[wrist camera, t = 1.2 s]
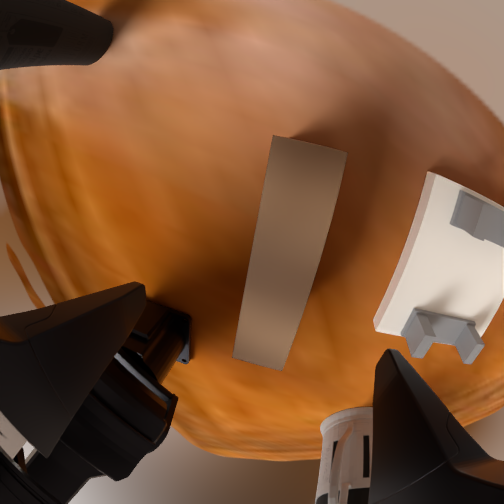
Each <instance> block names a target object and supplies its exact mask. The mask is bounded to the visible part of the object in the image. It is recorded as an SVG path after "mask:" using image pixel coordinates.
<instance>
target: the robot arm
mask: <svg viewBox="0 0 504 504" xmlns="http://www.w3.org/2000/svg"><path fill="white" fill-rule="evenodd" d="M185 319H186V320H187V321H186V320H185ZM190 346H191V317H190V316H189V315H187V314H184V313H181V312H178V311H175V310H172V309H170V308H167V307H164V306H161V305H158V304H156V303H153V302H150V301H147V300H146V290H145V286H144V284H141V283H139V282H131V283H127V284H124V285H120V286H117V287H113V288H110V289H106V290H103V291H99V292H96V293H92V294H89V295H85V296H82V297H78V298H75V299H71V300H68V301H64V302H61V303H58V304H57V305H56V304H54V305H50V306H47V307H43V308H39V309H36V310H31V311H27V312H22V313H17V314H12V315H7V316H2V317H0V504H68V503H69V502H70V501H71V499H72V498H73V497H74V496H75V495H76V494H77V493H78V492H79V490H80V489H81V488H82V487H83V486H84V485H85V484H86V482H87V481H88V480H89V479H91V478H95V477H101V476H108V477H110V478H111V479H113V480H114V481H119V480H122V479H124V478H127V477H128V476H129V475H130V474H131V472H132V471H133V469H134V468H135V467H136V465H137V464H138V463H139V461H140V460H141V459H142V458H143V457H144V456H145V455H146V454H148V453H150V452H152V451H154V450H155V449H156V448H157V447H159V445H160V444H161V443H162V442H163V440H164V439H165V438H166V436H167V434H168V431H169V429H170V425H171V422H172V418H173V415H174V412H175V408H176V405H177V401H178V397H177V396H176V395H175V394H172V393H171V392H169V391H168V390H167V389H166V388H165V387H163V386H162V385H161V384H162V382H163V381H164V379H165V378H166V376H167V374H168V373H169V371H170V370H171V368H172V366H173V365H174V363H175V362H176V361H178V362H181V363H183V364H188V363H189V361H190ZM26 441H28V442H29V443H30V444H31V445H32V446H33V447H34V449H33V451H32V452H31V453H30V455H29V456H28V457H27V458H26V459H25V458H24V452H23V448H22V446H23V445H24V444H25V442H26ZM368 504H504V461H501V460H497V459H494V458H492V457H491V456H489V455H488V454H487V453H486V452H485V451H484V450H483V449H482V448H481V446H480V445H479V444H478V443H477V442H476V441H475V440H474V439H473V438H472V437H471V436H470V435H469V434H468V433H467V432H466V430H465V429H464V428H463V427H462V426H461V425H460V423H459V422H458V421H457V420H456V419H455V417H454V416H453V415H452V414H451V412H449V410H448V409H447V407H446V406H445V405H444V404H443V403H442V401H441V400H440V399H439V398H438V397H437V395H436V394H435V393H434V392H433V391H432V389H431V388H430V387H429V386H428V385H427V383H426V382H425V381H424V380H423V379H422V378H421V376H420V375H419V374H418V373H417V372H416V371H415V369H414V368H413V367H412V366H411V365H410V364H409V363H408V361H407V360H406V359H405V358H404V357H403V356H402V355H401V353H400V352H399V351H398V350H395V349H386V350H385V352H384V354H383V355H382V357H381V358H380V360H379V362H378V363H377V365H376V369H375V382H374V395H373V442H372V465H371V480H370V491H369V500H368Z"/></svg>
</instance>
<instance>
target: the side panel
mask: <svg viewBox="0 0 504 504" xmlns="http://www.w3.org/2000/svg"><path fill="white" fill-rule="evenodd" d="M503 298H504V207H503V206H501V205H499V204H498V203H496V202H494V201H492V200H490V199H488V198H486V197H484V196H483V195H481V194H479V193H477V192H475V191H473V190H471V189H468V188H466V187H464V186H462V185H460V184H458V183H456V182H453V181H451V180H449V179H447V178H444V177H442V176H440V175H437V174H435V173H432V172H429V171H427V175H426V179H425V183H424V186H423V190H422V194H421V197H420V201H419V204H418V207H417V210H416V214H415V217H414V220H413V223H412V226H411V229H410V232H409V235H408V238H407V240H406V243H405V246H404V249H403V251H402V254H401V257H400V259H399V262H398V264H397V267H396V269H395V272H394V274H393V277H392V279H391V281H390V284H389V286H388V288H387V291H386V293H385V295H384V297H383V299H382V302H381V304H380V306H379V308H378V310H377V312H376V314H375V316H374V319H373V322H374V326H375V331H377V332H382V333H387V334H392V335H397V336H402V337H405V338H406V341H407V344H408V347H409V350H410V354H411V357H416V358H423V357H424V355H425V354H426V352H427V351H428V349H429V348H430V346H431V345H432V343H433V342H436V343H442V344H449V345H455V346H456V348H457V350H458V352H459V355H460V357H461V359H462V361H463V363H465V364H472V363H473V361H474V360H475V358H476V357H477V356H478V354H479V353H480V351H481V350H482V348H483V347H484V345H485V344H484V342H483V341H482V339H481V336H482V335H483V333H484V332H485V330H486V328H487V327H488V325H489V323H490V322H491V320H492V318H493V317H494V315H495V313H496V311H497V309H498V308H499V306H500V304H501V302H502V300H503Z"/></svg>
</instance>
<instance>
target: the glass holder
mask: <svg viewBox="0 0 504 504" xmlns="http://www.w3.org/2000/svg"><path fill="white" fill-rule="evenodd" d="M320 430H321V433H322V435H323V445H322V455H321V463H320V471H319V479H318V486H317V493H316V499H315V504H368V500H369V491H370V480H371V465H372V442H373V407H357V408H350V409H346V410H342V411H339V412H337V413H335V414H332V415H331V416H329V417H327V418H326V419H325V420H324V421H323V422H322V424H321V426H320Z"/></svg>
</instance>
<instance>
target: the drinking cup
mask: <svg viewBox="0 0 504 504" xmlns="http://www.w3.org/2000/svg"><path fill="white" fill-rule="evenodd" d="M112 37H113V26H112V23H111V22H110V21H108V20H106V19H104V18H102V17H100V16H98V15H96V14H94V13H92V12H90V11H88V10H86V9H84V8H82V7H80V6H77V5H75V4H73V3H71V2H68V1H66V0H0V70H2V69H10V68H18V67H29V66H45V65H90V64H92V63H94V62H96V61H97V60H98V59H99V58H101V56H102V55H103V54H104V53H105V52H106V50H107V48H108V47H109V45H110V43H111V40H112Z"/></svg>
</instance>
